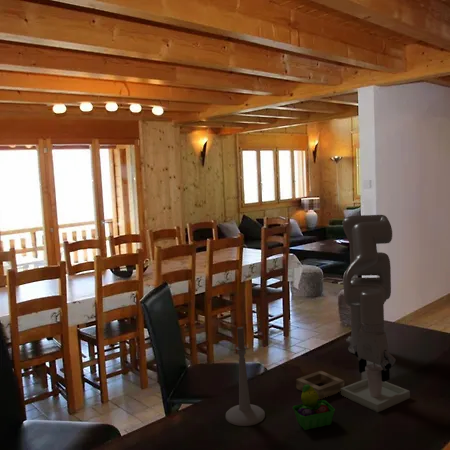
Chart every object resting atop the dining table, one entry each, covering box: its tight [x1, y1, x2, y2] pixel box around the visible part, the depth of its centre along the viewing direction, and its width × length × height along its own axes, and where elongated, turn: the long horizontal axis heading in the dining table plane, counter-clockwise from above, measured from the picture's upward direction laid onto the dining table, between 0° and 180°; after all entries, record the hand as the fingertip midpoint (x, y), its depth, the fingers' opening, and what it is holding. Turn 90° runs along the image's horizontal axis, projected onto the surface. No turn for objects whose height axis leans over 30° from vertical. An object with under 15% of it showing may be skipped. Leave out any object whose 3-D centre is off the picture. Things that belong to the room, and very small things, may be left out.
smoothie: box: [365, 362, 383, 397], centre depth 168 cm, size 6×6×14 cm
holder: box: [295, 370, 346, 401], centre depth 177 cm, size 12×12×4 cm
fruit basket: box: [292, 384, 336, 431], centre depth 153 cm, size 11×9×11 cm
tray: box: [340, 377, 411, 413], centre depth 169 cm, size 16×16×2 cm
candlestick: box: [225, 326, 266, 427], centre depth 159 cm, size 13×13×30 cm
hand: (374, 376), depth 168 cm, fingers open, 9 cm apart
